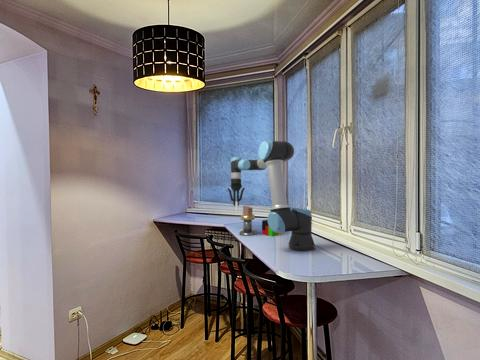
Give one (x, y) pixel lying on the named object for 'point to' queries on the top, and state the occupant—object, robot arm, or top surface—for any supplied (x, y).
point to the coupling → (247, 213)
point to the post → (247, 229)
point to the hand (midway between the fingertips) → (236, 210)
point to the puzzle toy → (268, 229)
